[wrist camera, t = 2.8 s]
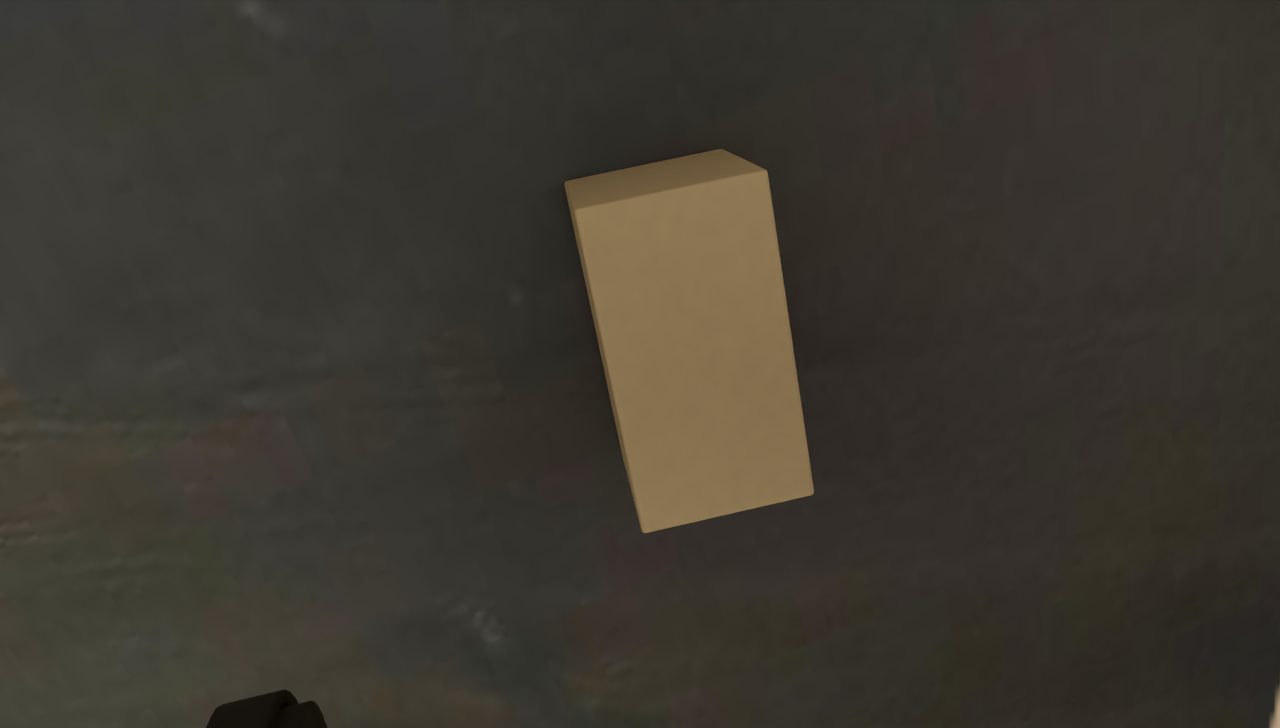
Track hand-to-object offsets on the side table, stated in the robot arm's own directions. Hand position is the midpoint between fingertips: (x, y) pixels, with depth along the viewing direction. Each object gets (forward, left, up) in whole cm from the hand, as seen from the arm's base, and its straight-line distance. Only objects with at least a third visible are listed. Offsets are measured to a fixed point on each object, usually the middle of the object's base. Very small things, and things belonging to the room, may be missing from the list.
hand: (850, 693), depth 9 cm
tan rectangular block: (0, 0, -14) cm, 14 cm away
